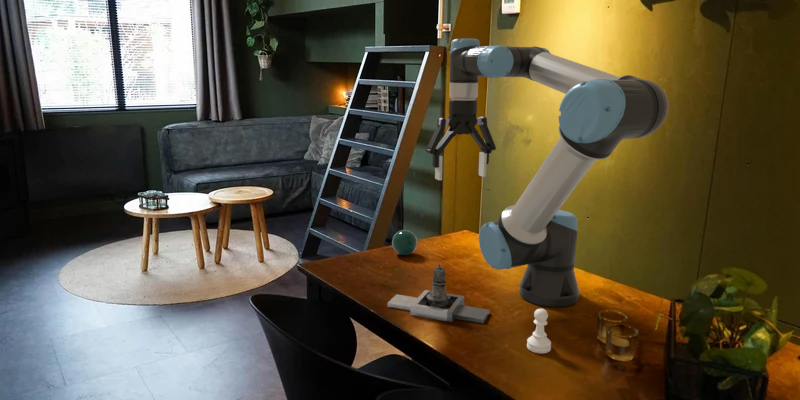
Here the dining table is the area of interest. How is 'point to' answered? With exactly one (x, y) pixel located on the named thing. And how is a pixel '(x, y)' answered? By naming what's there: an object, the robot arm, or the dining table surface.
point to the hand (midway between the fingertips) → (460, 177)
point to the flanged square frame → (436, 313)
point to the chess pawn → (539, 334)
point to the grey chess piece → (438, 289)
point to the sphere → (404, 242)
